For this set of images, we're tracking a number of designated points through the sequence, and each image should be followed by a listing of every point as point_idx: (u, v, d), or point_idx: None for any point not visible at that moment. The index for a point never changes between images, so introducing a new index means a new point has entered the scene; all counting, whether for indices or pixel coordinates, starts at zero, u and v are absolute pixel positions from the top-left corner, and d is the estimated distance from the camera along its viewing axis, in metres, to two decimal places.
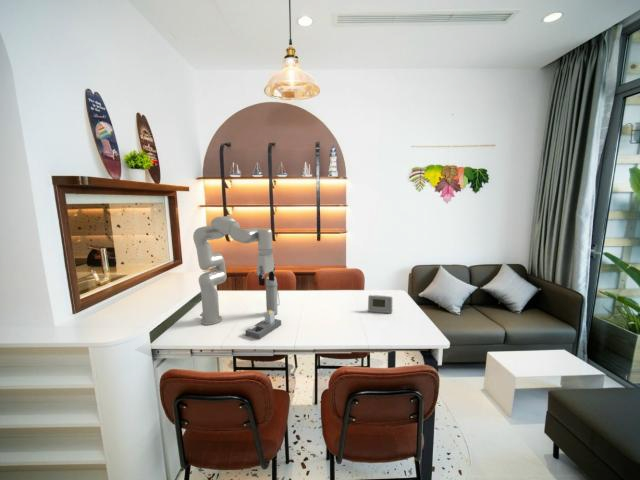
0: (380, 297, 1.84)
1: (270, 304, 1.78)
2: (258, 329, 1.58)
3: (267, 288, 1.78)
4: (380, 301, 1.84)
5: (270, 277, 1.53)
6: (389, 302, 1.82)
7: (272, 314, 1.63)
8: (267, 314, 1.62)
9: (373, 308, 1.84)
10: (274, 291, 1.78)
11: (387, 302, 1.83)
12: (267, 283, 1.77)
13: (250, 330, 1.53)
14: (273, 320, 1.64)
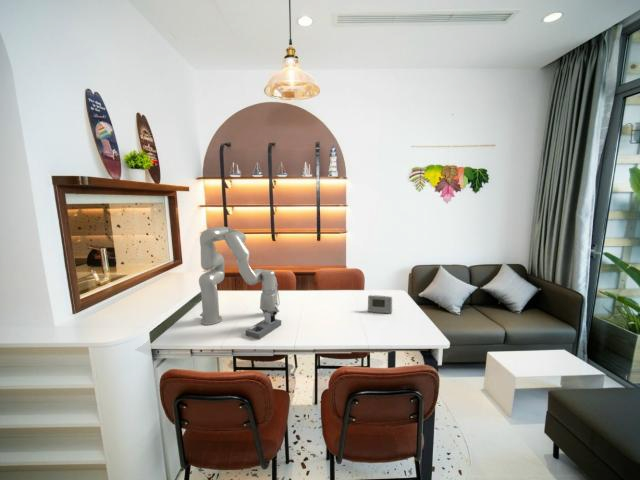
0: (380, 297, 1.84)
1: None
2: (258, 329, 1.58)
3: None
4: (379, 301, 1.84)
5: None
6: (389, 302, 1.82)
7: None
8: (267, 314, 1.62)
9: (373, 308, 1.83)
10: None
11: (387, 302, 1.82)
12: None
13: (250, 330, 1.53)
14: None
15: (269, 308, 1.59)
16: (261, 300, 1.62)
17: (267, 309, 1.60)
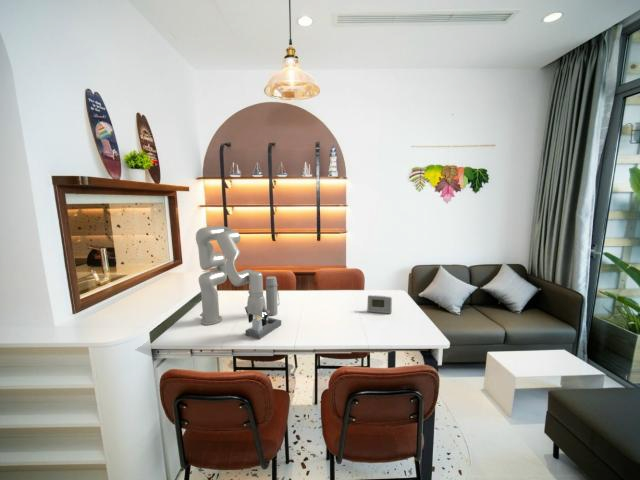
0: (379, 297, 1.84)
1: (270, 304, 1.78)
2: None
3: (267, 288, 1.78)
4: (379, 301, 1.84)
5: (250, 319, 1.55)
6: (388, 302, 1.82)
7: (260, 321, 1.53)
8: (254, 321, 1.52)
9: (372, 308, 1.83)
10: (274, 291, 1.78)
11: (386, 302, 1.82)
12: (267, 283, 1.77)
13: (250, 330, 1.53)
14: (261, 327, 1.54)
15: (256, 312, 1.49)
16: (248, 304, 1.52)
17: (254, 313, 1.50)
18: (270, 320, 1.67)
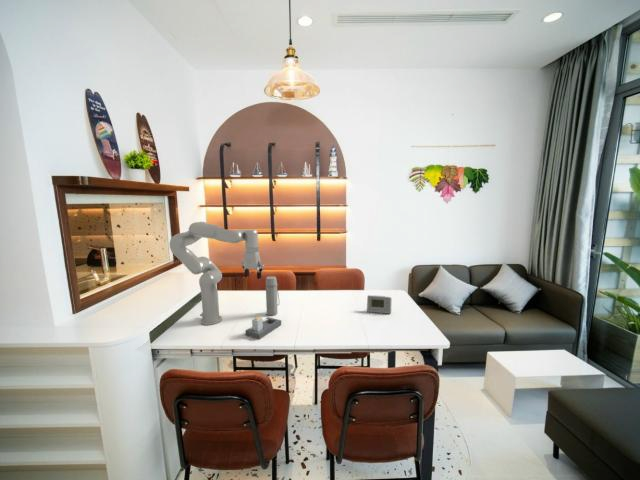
0: (379, 297, 1.84)
1: (270, 304, 1.78)
2: None
3: (267, 288, 1.78)
4: (378, 301, 1.83)
5: (247, 273, 1.69)
6: (388, 302, 1.82)
7: (260, 321, 1.53)
8: (254, 321, 1.52)
9: (372, 308, 1.83)
10: (274, 291, 1.78)
11: (386, 302, 1.82)
12: (267, 283, 1.77)
13: (250, 330, 1.53)
14: (261, 327, 1.54)
15: (252, 266, 1.63)
16: (244, 259, 1.66)
17: (250, 267, 1.64)
18: (270, 320, 1.67)
